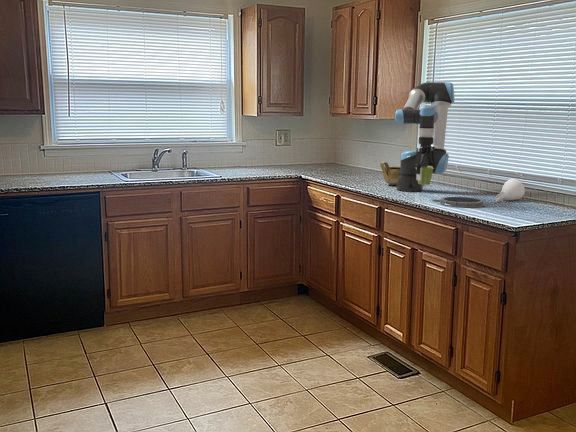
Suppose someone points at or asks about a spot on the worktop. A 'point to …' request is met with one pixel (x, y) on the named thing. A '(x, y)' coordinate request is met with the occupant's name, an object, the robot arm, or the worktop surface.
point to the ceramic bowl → (390, 173)
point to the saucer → (462, 202)
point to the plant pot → (426, 175)
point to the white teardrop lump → (511, 191)
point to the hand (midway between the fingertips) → (424, 179)
